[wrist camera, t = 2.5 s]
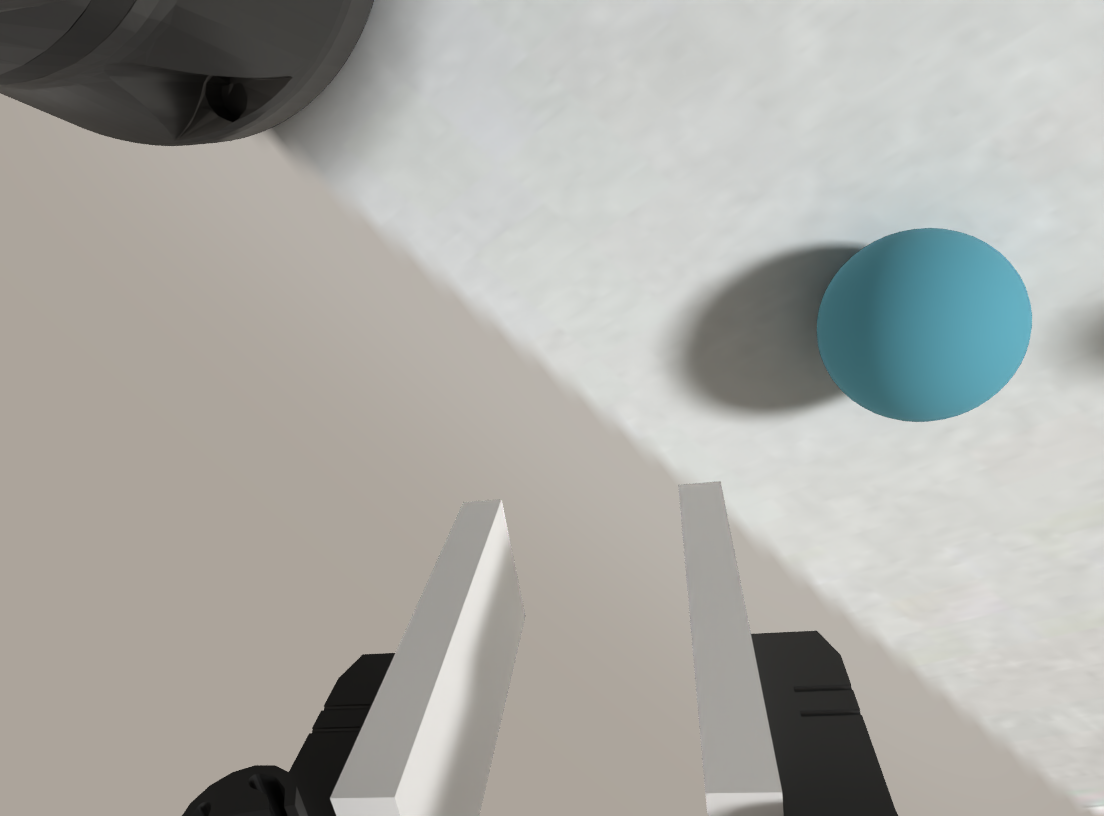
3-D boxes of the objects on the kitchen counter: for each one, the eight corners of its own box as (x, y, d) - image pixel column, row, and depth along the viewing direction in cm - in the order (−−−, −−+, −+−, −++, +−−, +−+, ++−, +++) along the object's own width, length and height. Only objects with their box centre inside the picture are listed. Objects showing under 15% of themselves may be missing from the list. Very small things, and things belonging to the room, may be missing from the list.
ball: (770, 345, 27) (802, 408, 21) (855, 187, 25) (916, 212, 19) (919, 406, 27) (988, 484, 22) (1017, 255, 25) (1124, 299, 19)
